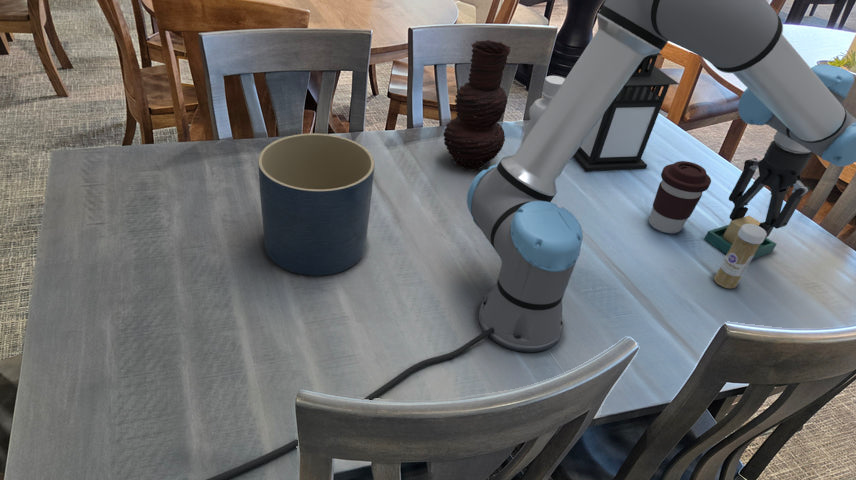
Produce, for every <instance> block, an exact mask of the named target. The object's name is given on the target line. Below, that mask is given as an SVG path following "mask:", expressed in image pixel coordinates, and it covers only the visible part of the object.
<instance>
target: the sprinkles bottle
mask: <svg viewBox="0 0 856 480" xmlns="http://www.w3.org/2000/svg"><path fill="white" fill-rule="evenodd" d="M766 235H767V233H766V231H765V230H764V229H763V228H761V227H759V226H757V225H754V224H744V225H742V227H741V228H740V230H739V232H738V236H737V238H736V239H735V241H734V243H733V245H732V247H731V248H730V250H729V252H728V253H727V254H725V256H724V258H723V260H722V262H721V264H720V266H719V268H718V270H717V272H716V273H715V274H714V276H713V280H714V282H715V283H716V285H719V286H720V287H722V288H725V289H735V288H736V287H737V286H738V283H739V282H740V280H741V278H742V276H743V275H744V274H745V272H746V270H747V268H748V267H749V265H750V264H751V262H752V260H753V259H752V258H753V256H754V255H755V252H756V251H757V249H758V247H759V246H760V244H761V243H762V242H763V241H764V239H765V237H766ZM766 238H767V237H766Z"/></svg>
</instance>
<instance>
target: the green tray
mask: <svg viewBox="0 0 856 480" xmlns="http://www.w3.org/2000/svg"><path fill="white" fill-rule="evenodd" d="M728 226H729V224H727V225H724V226H720V227H717V228H714V229H710V230H708V231H707V233H706V235H705V237H704V240H705V241H706V242H707V243H709V244H710V245H712V246H714V247H715V248H716V249H718V250H720V251H721V252H722V253H724V254H725V255H727V253H728V252H729V250H730V248H731V247H732V245H733V244H731V243H730V242H728V241H727V240H725V239H724V238H722V237H723V235H724V233H725V232H726V230H727V228H728ZM777 245H778V244H777V243H776V242H774V241H773V240H771V239H770V238H768V237H766V238H765V239H764V241H763V242H762V243H761V244H760V246H759V247H758V249H757V251H756V252H755V255H754V256H753V258H752V260H754V259H757V258H760V257H762V256H766V255H768V254H771V253H773V251H774V250H775V248H776V247H777Z"/></svg>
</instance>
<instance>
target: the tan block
mask: <svg viewBox="0 0 856 480" xmlns="http://www.w3.org/2000/svg"><path fill="white" fill-rule="evenodd" d="M760 223H762V222H761V221H759V220H758V219H756V218H754V217H753V216H751V215H745V216H744V217H742V218H739V219H736V220H733V221H731V220H730V222H729V224H728V225H729V226H728V228H727V230H726V232H725V233H724V235H723V237H722V238H724V239H725V240H727V241H728V242H730V243H731V244H733V243H734V241H735V239H736V238H737V236H738V232H739V230H740V228H741V227H742V225H744V224H754V225H757V226H759V224H760Z"/></svg>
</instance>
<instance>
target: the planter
mask: <svg viewBox="0 0 856 480" xmlns="http://www.w3.org/2000/svg"><path fill="white" fill-rule="evenodd" d="M258 155H259V156H258V158H257V166H258V167H257V168H258V179H259V180H258V181H259V193H260V194H259V195H260V197H259V198H260V207H261V208H260V209H261V219H262V220H261V221H262V227H263V228H262V229H263V242H264V243H263V244H264V249H265V253H266V254H267V256H268V257H269V259H270V260H271V261H272V262H273V263H274V264H275V265H277V266H278V267H280V268H281V269H284V270H286V271H288V272H291V273H294V274H298V275H303V276H311V277H319V276H320V277H321V276H330V275H334V274H338V273H341V272H345V271H347V270H349V269H351V268H352V267H353V266H355V265H356V264H357V263H358V262H359V261H360V260H362V257H363V256H364V254H365V252H366V246H367V239H368V230H369V222H370V213H371V204H372V195H373V184H374V174H375V159H374V156H373V155H372V154H371V152H370V151H369V150H368V149H367V148H366V147H364V146H363V145H362V144H360V143H358V142H356V141H354V140H352V139H350V138H346V137H344V136H339V135H335V134H327V133H313V132H312V133H299V134H293V135H289V136H285V137H281V138H279V139H276V140H275V141H272V142H270V143H269V144H268V145H267V146H265V147H264V148H263V149H262V150H261V152H260V153H259V154H258Z"/></svg>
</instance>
